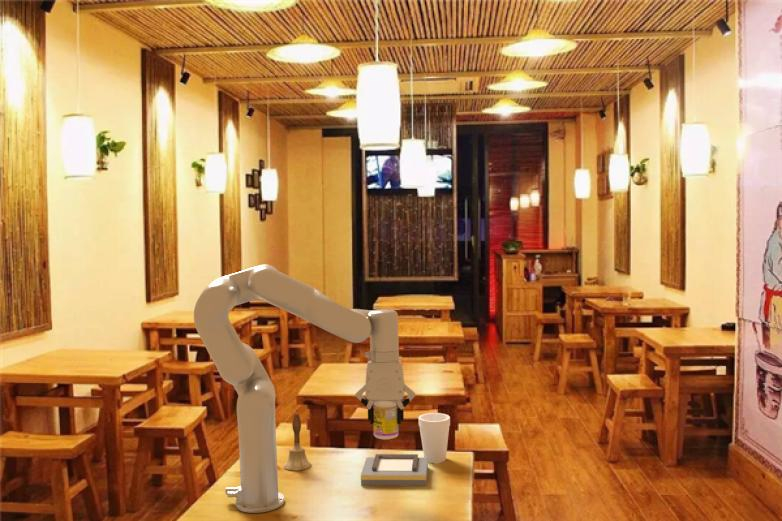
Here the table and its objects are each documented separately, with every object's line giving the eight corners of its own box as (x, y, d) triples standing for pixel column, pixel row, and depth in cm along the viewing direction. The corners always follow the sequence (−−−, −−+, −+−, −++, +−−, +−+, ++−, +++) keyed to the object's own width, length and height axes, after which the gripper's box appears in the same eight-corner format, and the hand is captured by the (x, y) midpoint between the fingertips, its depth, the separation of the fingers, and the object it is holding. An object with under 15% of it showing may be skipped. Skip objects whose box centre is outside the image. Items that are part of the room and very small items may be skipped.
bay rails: (372, 470, 203) (371, 467, 203) (375, 457, 213) (375, 454, 213) (416, 471, 202) (416, 467, 202) (418, 457, 212) (417, 454, 212)
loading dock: (361, 485, 200) (360, 474, 200) (366, 467, 214) (366, 457, 214) (426, 486, 198) (426, 474, 198) (427, 467, 213) (427, 457, 212)
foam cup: (451, 454, 223) (450, 413, 223) (450, 464, 214) (449, 421, 213) (420, 454, 224) (419, 412, 224) (418, 464, 215) (417, 421, 214)
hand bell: (296, 459, 222) (295, 408, 221) (317, 464, 218) (315, 412, 217) (277, 467, 216) (275, 415, 215) (298, 473, 211) (296, 419, 210)
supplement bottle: (369, 434, 194) (368, 387, 193) (392, 431, 197) (391, 384, 196) (379, 441, 188) (378, 392, 187) (402, 437, 191) (401, 389, 190)
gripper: (350, 359, 188) (351, 426, 189) (416, 359, 187) (417, 427, 188) (353, 353, 196) (355, 418, 197) (418, 353, 194) (419, 419, 195)
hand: (385, 422), depth 192 cm, fingers closed on supplement bottle, 6 cm apart
